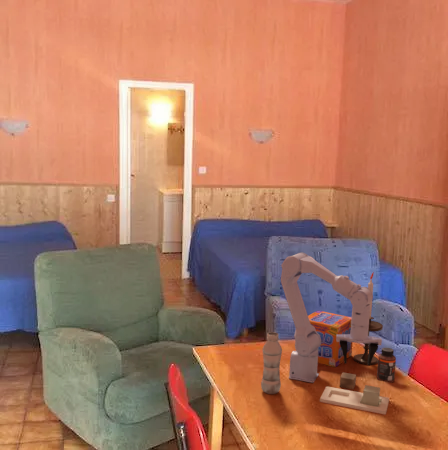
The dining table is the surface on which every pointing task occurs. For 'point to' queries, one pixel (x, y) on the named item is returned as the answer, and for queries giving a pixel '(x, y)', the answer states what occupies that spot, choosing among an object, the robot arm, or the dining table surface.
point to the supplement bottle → (386, 365)
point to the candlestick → (372, 327)
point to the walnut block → (347, 380)
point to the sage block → (371, 395)
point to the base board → (352, 400)
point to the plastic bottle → (271, 364)
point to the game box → (331, 336)
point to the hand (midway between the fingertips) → (357, 363)
